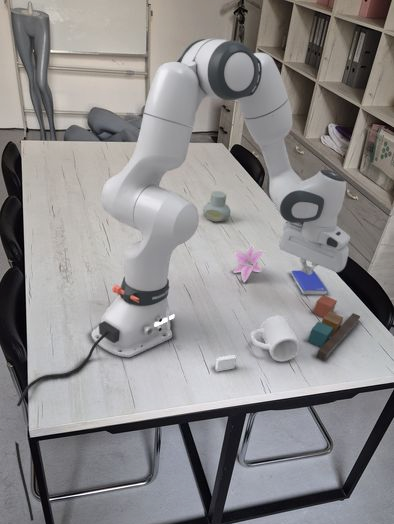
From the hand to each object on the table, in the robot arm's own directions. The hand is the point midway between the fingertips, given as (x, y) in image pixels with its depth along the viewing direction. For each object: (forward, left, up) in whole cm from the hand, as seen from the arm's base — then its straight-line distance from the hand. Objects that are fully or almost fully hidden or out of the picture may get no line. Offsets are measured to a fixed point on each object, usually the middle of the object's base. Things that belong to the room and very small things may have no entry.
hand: (306, 272), depth 146 cm
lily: (+2, +20, -10) cm, 23 cm away
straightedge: (-9, -17, -10) cm, 22 cm away
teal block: (-14, -14, -10) cm, 22 cm away
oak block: (-7, -14, -10) cm, 19 cm away
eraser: (-42, -1, -10) cm, 44 cm away
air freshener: (+30, +52, -10) cm, 61 cm away
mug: (-28, -5, -10) cm, 30 cm away
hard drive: (+12, +2, -10) cm, 16 cm away
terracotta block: (0, -9, -10) cm, 13 cm away
